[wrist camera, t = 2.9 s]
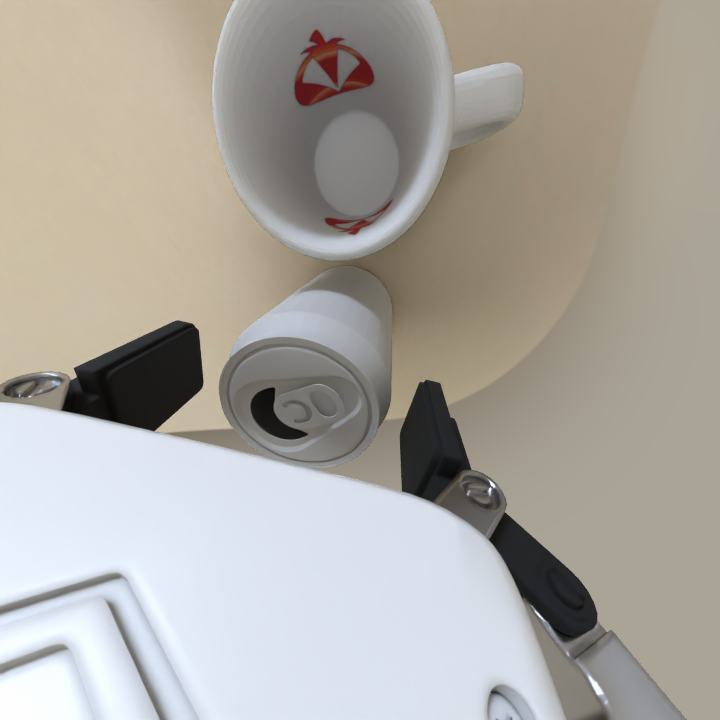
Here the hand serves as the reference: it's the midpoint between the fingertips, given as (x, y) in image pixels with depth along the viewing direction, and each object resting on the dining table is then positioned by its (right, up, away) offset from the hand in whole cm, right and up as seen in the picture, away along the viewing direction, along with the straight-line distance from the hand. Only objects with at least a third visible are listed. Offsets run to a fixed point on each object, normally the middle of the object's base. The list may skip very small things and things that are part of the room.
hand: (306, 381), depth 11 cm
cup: (+4, +12, +4) cm, 14 cm away
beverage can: (+2, +5, +9) cm, 10 cm away
